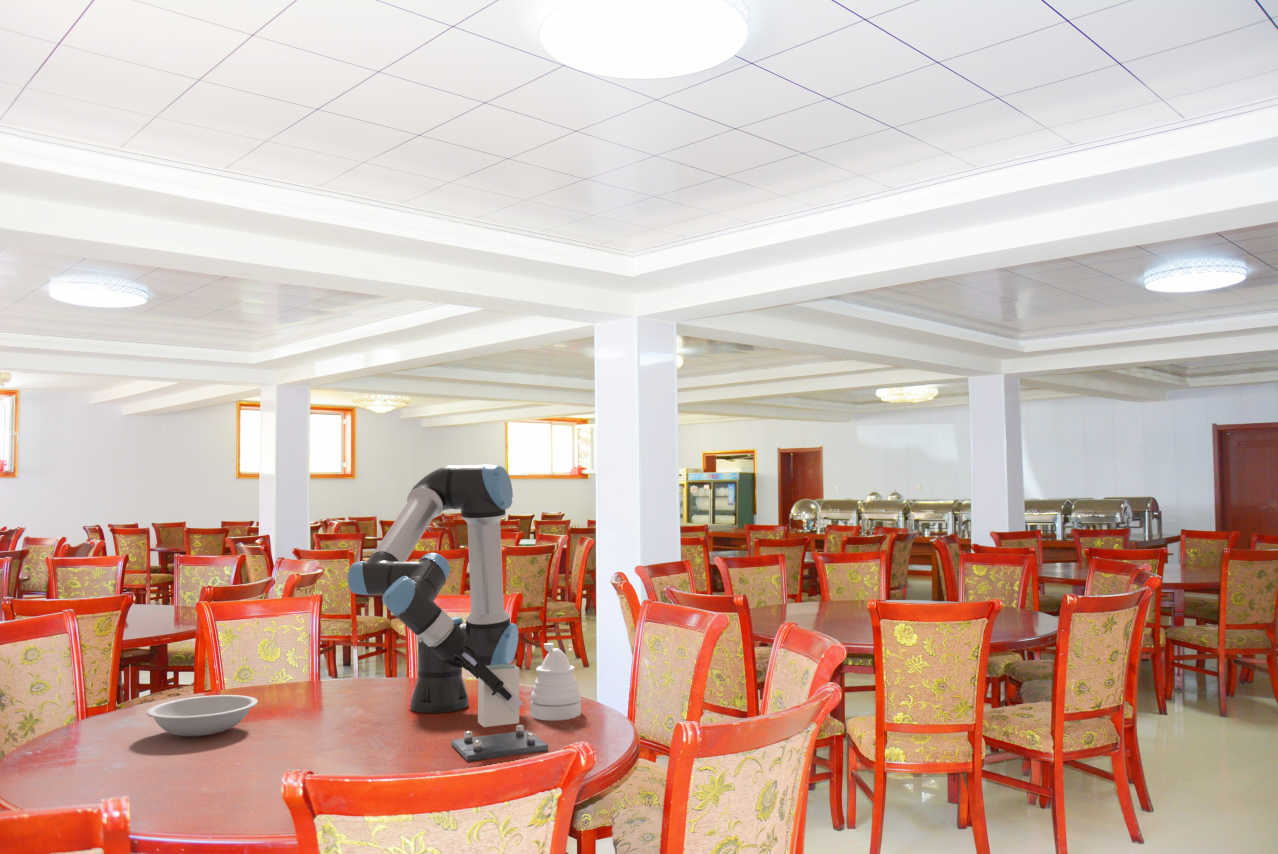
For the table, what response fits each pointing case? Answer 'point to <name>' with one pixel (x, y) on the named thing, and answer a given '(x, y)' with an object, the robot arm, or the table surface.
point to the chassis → (498, 744)
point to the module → (493, 707)
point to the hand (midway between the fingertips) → (514, 704)
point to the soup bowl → (201, 714)
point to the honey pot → (555, 688)
